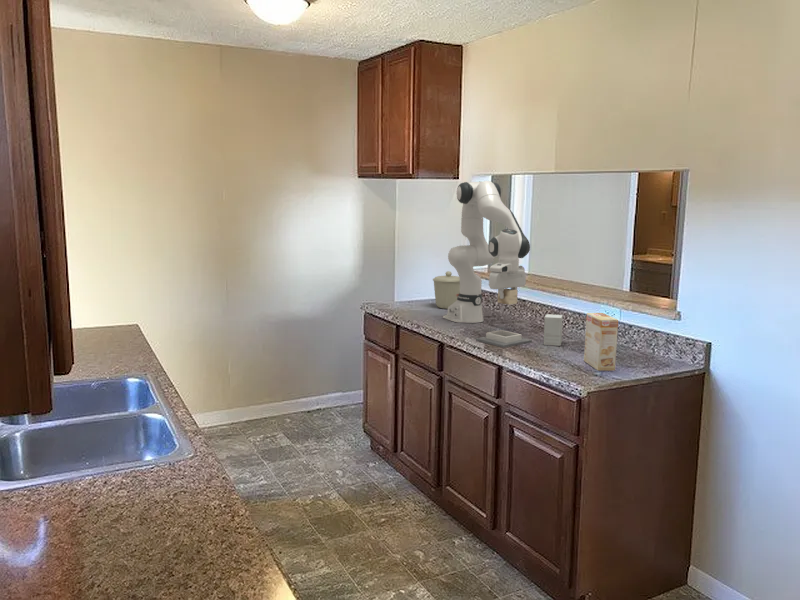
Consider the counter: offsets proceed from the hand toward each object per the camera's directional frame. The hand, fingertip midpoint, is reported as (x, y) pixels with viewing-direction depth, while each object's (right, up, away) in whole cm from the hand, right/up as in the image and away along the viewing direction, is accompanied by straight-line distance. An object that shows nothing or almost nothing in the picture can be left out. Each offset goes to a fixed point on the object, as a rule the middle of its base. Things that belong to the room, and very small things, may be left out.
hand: (507, 297), depth 292 cm
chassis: (-1, -19, +3) cm, 20 cm away
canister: (-20, -6, +88) cm, 90 cm away
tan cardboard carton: (0, -2, 0) cm, 2 cm away
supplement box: (+20, -21, -1) cm, 28 cm away
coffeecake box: (+29, -27, -38) cm, 55 cm away
